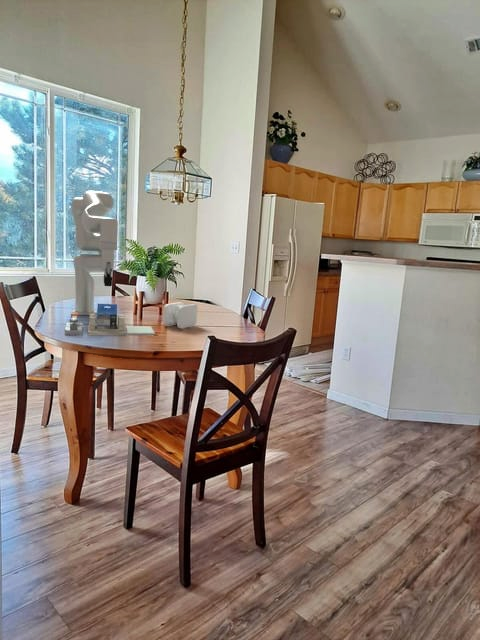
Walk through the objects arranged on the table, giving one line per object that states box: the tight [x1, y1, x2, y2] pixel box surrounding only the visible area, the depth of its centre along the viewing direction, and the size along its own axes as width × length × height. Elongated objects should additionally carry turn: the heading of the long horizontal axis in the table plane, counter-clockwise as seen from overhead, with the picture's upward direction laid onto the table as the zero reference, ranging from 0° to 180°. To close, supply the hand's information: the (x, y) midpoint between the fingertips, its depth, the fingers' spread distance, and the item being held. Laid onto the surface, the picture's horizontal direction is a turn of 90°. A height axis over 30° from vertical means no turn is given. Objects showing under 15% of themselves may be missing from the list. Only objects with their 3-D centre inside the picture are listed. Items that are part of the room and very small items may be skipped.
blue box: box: [96, 303, 118, 329], centre depth 206 cm, size 9×4×12 cm, turn 105°
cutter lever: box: [69, 311, 80, 324], centre depth 203 cm, size 15×3×4 cm, turn 18°
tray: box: [125, 325, 156, 336], centre depth 211 cm, size 14×12×1 cm
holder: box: [87, 314, 127, 336], centre depth 206 cm, size 16×16×7 cm
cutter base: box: [64, 322, 84, 336], centre depth 202 cm, size 15×7×4 cm, turn 18°
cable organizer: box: [162, 301, 198, 330], centre depth 227 cm, size 15×11×12 cm
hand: (107, 284), depth 202 cm, fingers open, 9 cm apart
